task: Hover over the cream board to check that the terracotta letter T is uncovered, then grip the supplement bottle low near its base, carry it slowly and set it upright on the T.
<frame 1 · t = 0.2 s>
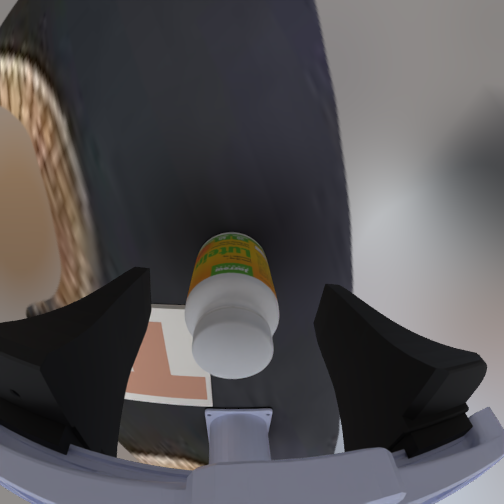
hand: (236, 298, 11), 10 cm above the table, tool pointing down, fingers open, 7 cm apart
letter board: (150, 359, 26), on the table
supplement bottle: (231, 262, 22), on the table
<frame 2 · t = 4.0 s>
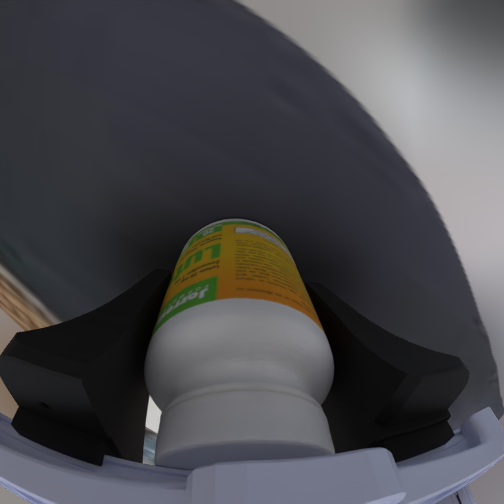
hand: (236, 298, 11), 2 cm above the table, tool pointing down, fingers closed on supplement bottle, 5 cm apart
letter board: (236, 423, 19), on the table
supplement bottle: (235, 268, 14), on the table, touching gripper
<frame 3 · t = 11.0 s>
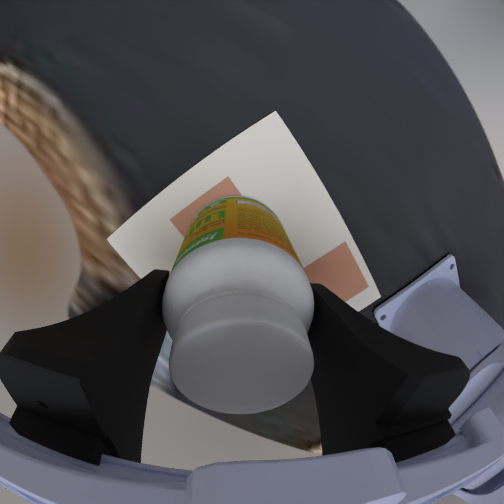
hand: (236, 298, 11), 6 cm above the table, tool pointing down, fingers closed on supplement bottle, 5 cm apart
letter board: (254, 267, 17), on the table
supplement bottle: (235, 239, 16), resting on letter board, touching gripper
when the fingers open (4 cm above the table, at t = 12.0 s): supplement bottle stays where it is, resting on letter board.
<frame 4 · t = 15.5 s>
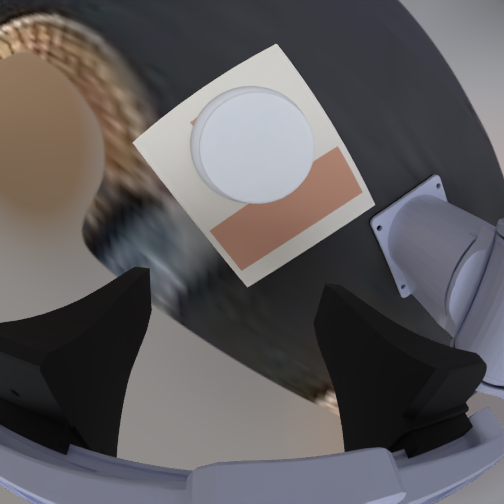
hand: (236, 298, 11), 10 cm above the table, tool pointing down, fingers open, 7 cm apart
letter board: (260, 168, 19), on the table
supplement bottle: (244, 139, 18), resting on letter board
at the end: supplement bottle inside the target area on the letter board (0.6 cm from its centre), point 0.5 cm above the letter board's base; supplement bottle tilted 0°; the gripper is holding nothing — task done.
